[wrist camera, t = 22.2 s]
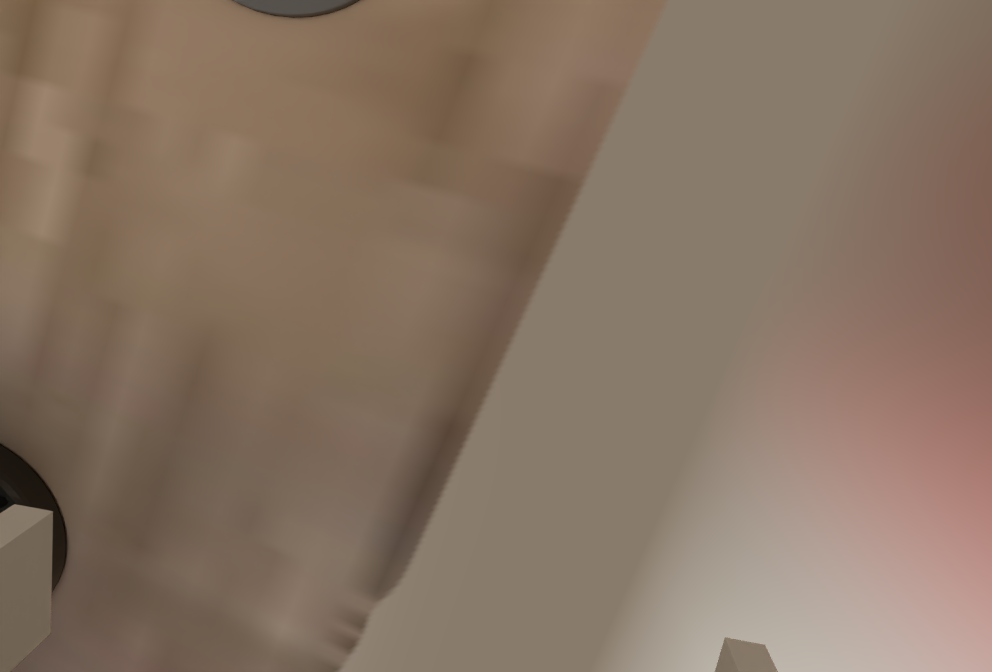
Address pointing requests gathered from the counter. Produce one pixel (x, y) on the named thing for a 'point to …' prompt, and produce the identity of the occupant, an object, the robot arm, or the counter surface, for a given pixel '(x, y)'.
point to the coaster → (296, 6)
